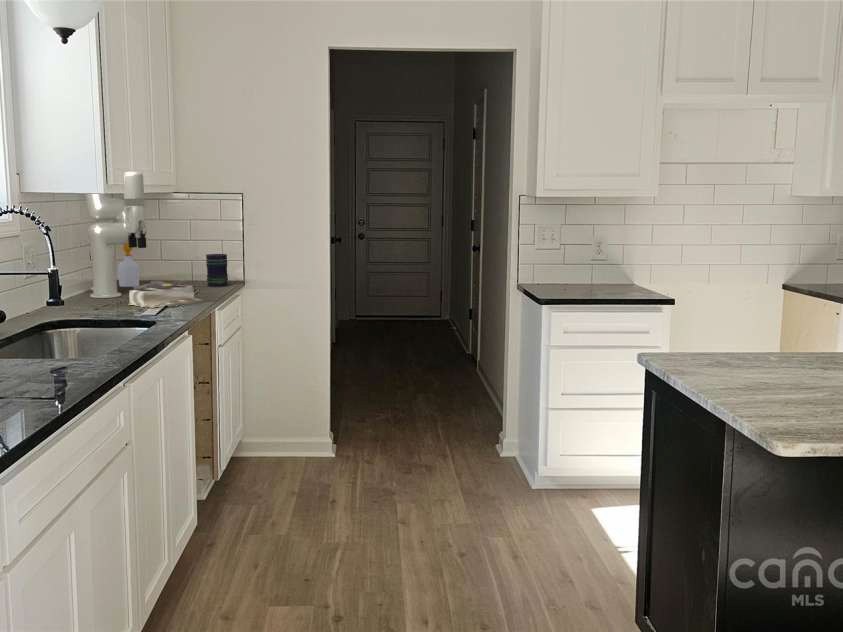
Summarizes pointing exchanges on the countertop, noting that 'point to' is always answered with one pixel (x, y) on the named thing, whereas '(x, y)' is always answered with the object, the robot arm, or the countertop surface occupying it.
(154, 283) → the rocker
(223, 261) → the storage jar
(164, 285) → the rocker middle
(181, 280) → the rocker
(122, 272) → the soap bottle
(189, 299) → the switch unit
